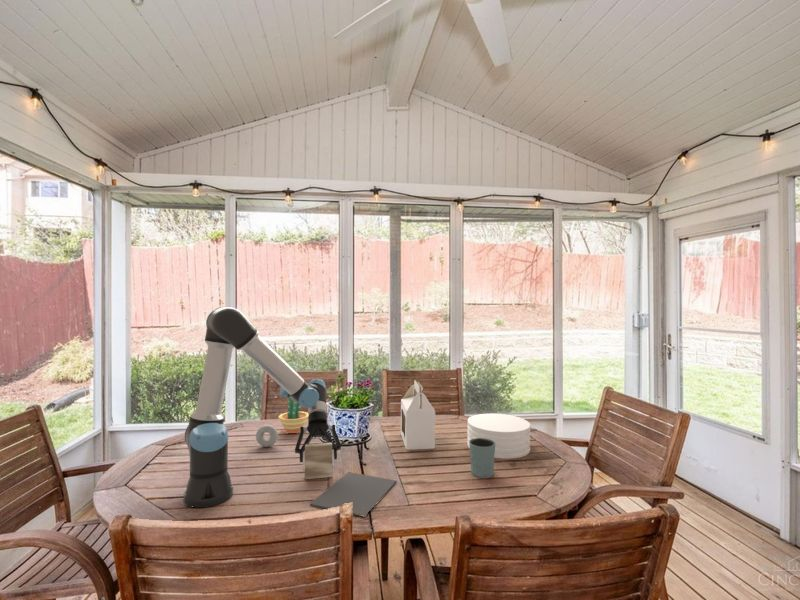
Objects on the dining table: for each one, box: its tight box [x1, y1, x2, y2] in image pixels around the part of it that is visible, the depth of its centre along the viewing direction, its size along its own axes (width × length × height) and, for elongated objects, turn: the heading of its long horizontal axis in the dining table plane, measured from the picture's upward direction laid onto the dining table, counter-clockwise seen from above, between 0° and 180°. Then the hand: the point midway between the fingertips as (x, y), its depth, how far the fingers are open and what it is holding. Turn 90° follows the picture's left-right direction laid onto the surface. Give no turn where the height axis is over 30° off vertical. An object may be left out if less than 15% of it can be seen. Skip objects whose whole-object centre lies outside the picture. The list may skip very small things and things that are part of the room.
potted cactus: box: [278, 398, 309, 434], centre depth 205 cm, size 15×15×25 cm
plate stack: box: [467, 413, 531, 460], centre depth 184 cm, size 28×28×12 cm
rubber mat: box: [309, 471, 397, 516], centre depth 139 cm, size 26×20×1 cm
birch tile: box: [304, 442, 333, 480], centre depth 152 cm, size 3×10×12 cm, turn 103°
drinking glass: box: [469, 438, 495, 479], centre depth 156 cm, size 10×10×12 cm
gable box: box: [400, 379, 436, 451], centre depth 191 cm, size 22×13×28 cm, turn 6°
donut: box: [255, 424, 279, 448], centre depth 183 cm, size 10×4×10 cm, turn 89°
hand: (318, 469), depth 149 cm, fingers closed on birch tile, 10 cm apart
